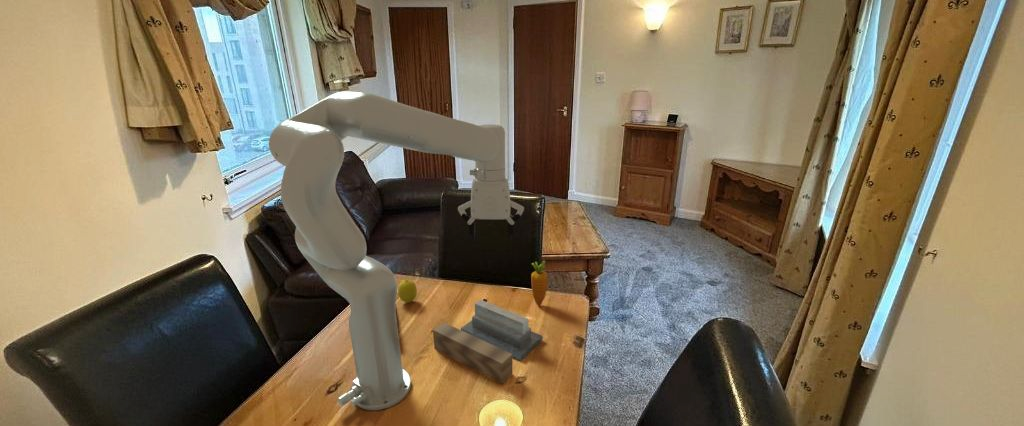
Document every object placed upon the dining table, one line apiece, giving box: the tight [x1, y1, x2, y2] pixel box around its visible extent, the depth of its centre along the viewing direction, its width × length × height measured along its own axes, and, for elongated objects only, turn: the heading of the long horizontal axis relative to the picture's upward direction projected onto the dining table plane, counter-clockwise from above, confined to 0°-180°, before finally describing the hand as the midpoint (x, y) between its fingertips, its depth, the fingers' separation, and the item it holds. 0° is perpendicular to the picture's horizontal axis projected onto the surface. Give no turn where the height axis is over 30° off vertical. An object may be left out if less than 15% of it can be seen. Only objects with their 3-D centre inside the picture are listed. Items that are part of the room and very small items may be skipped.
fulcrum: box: [460, 299, 543, 362], centre depth 108 cm, size 10×20×8 cm, turn 54°
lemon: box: [397, 279, 418, 304], centre depth 125 cm, size 6×6×8 cm
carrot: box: [530, 260, 548, 307], centre depth 122 cm, size 5×5×15 cm
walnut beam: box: [432, 322, 513, 385], centre depth 100 cm, size 22×4×6 cm, turn 54°
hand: (491, 237), depth 108 cm, fingers open, 9 cm apart
